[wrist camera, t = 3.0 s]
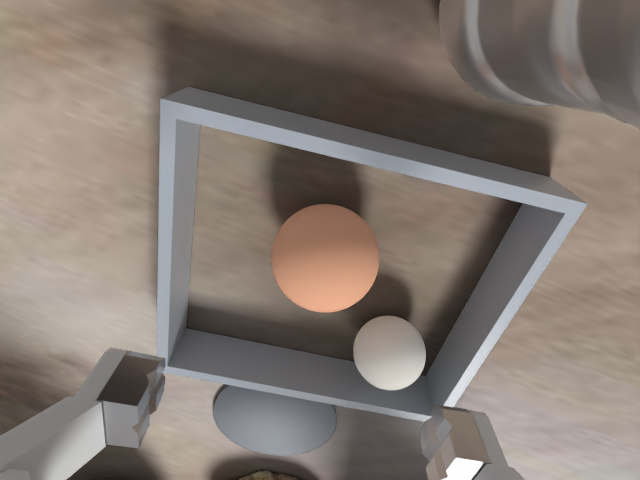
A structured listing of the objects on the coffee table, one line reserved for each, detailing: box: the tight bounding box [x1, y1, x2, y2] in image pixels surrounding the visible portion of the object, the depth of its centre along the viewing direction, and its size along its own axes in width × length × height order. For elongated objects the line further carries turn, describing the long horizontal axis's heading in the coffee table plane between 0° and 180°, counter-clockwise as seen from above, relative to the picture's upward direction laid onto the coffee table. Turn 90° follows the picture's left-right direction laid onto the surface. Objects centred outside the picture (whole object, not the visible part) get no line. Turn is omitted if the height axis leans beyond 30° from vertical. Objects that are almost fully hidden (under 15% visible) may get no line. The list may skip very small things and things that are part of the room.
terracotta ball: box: [271, 204, 379, 312], centre depth 17 cm, size 5×5×5 cm
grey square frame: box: [157, 87, 587, 422], centre depth 19 cm, size 17×15×3 cm
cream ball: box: [353, 316, 426, 390], centre depth 21 cm, size 4×4×4 cm
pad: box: [213, 385, 336, 456], centre depth 27 cm, size 9×9×1 cm
